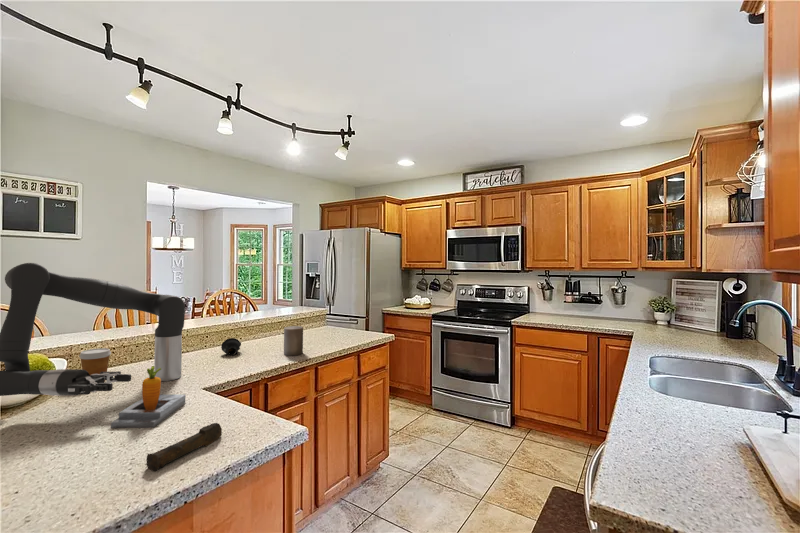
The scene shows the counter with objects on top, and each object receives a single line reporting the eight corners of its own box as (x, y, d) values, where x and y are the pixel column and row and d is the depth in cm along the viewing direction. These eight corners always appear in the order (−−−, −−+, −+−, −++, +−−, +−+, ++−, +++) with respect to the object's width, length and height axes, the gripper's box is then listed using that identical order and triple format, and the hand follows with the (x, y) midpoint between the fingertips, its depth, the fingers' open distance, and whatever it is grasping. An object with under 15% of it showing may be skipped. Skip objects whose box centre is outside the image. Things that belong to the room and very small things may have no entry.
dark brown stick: (155, 474, 83) (155, 454, 83) (144, 469, 85) (145, 449, 85) (228, 439, 100) (228, 422, 100) (218, 436, 102) (218, 419, 102)
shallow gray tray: (149, 403, 122) (149, 394, 122) (185, 403, 123) (185, 394, 123) (110, 427, 104) (111, 417, 104) (153, 427, 105) (153, 417, 105)
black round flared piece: (219, 348, 180) (216, 330, 195) (227, 365, 185) (224, 347, 200) (238, 340, 184) (234, 323, 198) (246, 357, 189) (242, 339, 203)
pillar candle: (306, 353, 194) (307, 324, 194) (292, 356, 186) (292, 327, 186) (294, 350, 199) (294, 322, 199) (279, 354, 191) (279, 325, 191)
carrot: (146, 411, 116) (148, 363, 116) (163, 411, 116) (165, 363, 116) (137, 417, 111) (138, 368, 111) (154, 418, 111) (156, 368, 111)
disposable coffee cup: (92, 387, 136) (93, 354, 136) (71, 384, 138) (72, 352, 138) (117, 379, 145) (117, 348, 145) (97, 377, 147) (97, 347, 147)
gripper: (44, 377, 105) (105, 377, 106) (83, 363, 119) (136, 363, 120) (43, 403, 105) (104, 403, 106) (82, 386, 119) (136, 386, 120)
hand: (121, 382), depth 113 cm, fingers open, 8 cm apart
